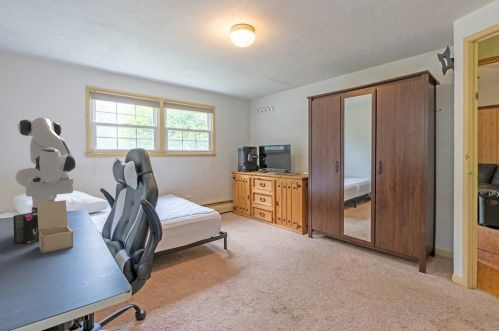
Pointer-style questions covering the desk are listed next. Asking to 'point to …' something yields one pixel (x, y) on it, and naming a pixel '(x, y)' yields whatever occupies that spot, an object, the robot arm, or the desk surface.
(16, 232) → the tampon box
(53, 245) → the carton
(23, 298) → the desk surface
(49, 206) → the lid
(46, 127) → the robot arm
